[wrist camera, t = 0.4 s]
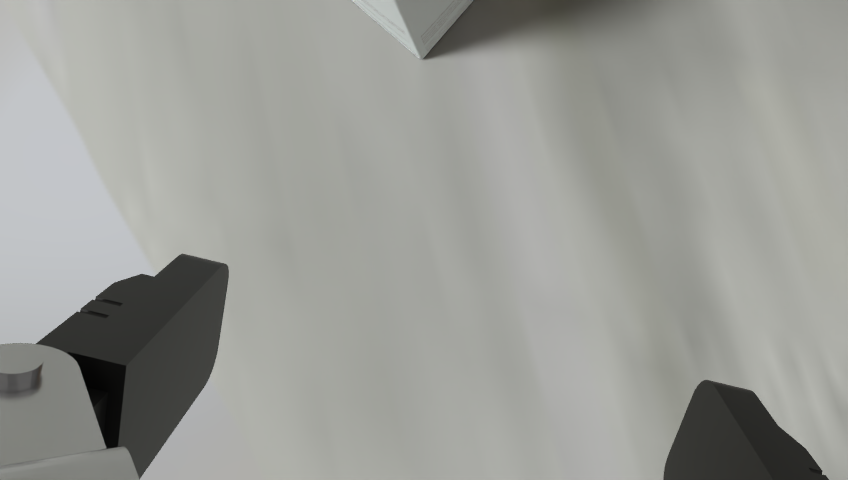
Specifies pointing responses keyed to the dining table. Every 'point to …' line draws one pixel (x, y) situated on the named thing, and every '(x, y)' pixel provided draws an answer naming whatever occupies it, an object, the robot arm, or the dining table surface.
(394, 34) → the supplement box
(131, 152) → the dining table surface
